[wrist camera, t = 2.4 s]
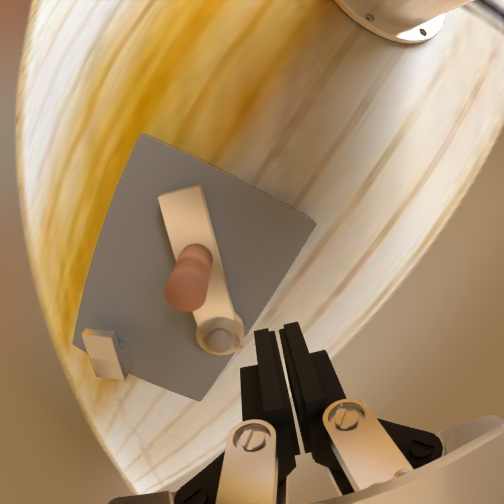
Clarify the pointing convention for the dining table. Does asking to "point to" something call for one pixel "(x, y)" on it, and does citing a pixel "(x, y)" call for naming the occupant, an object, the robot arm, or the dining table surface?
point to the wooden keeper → (108, 353)
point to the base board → (163, 261)
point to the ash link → (199, 272)
